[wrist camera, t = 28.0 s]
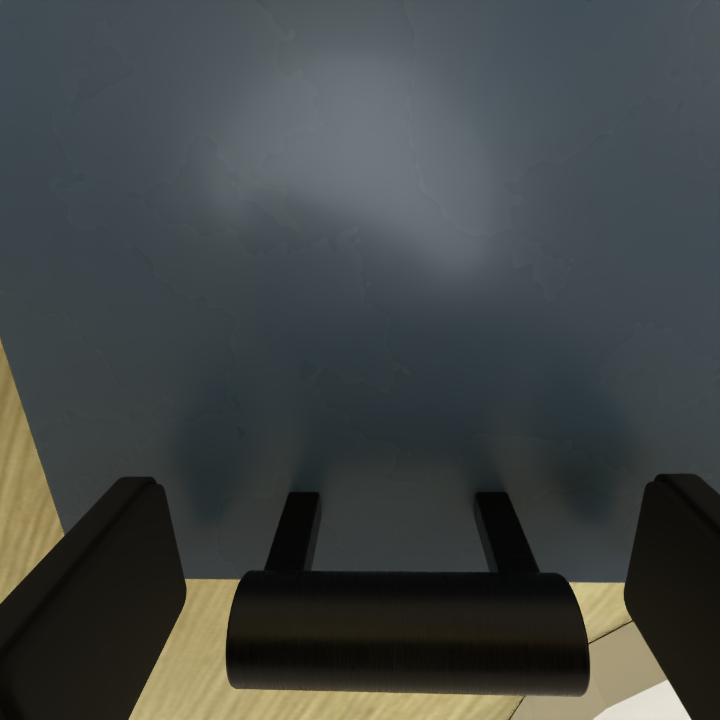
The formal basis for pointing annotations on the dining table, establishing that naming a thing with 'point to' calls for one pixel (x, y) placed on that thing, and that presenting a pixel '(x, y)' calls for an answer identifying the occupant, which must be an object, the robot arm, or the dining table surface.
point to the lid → (370, 307)
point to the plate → (614, 686)
